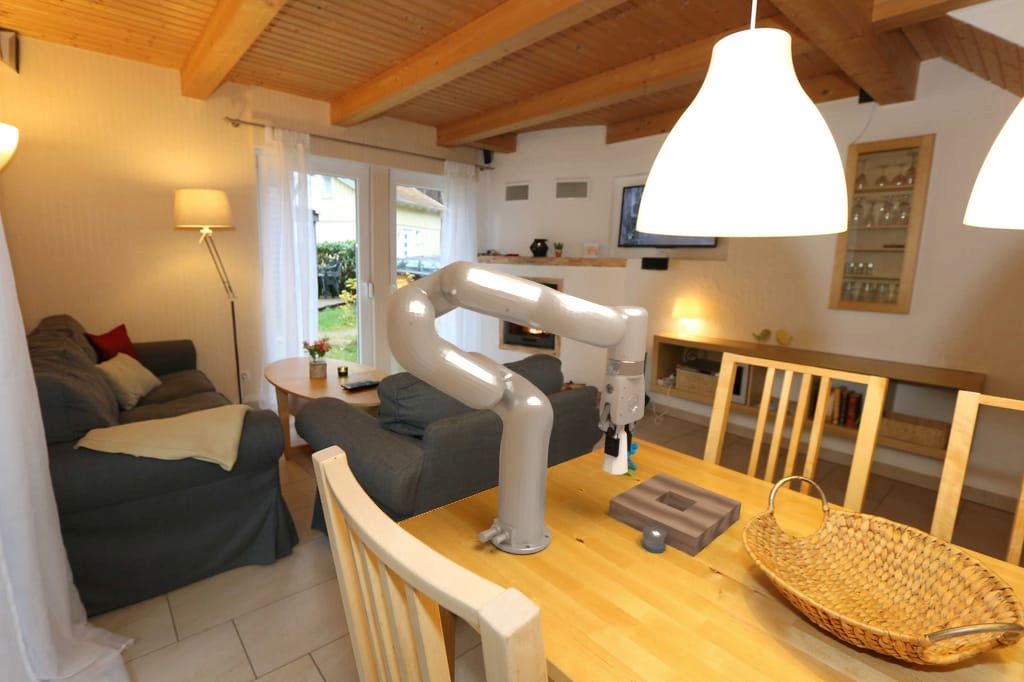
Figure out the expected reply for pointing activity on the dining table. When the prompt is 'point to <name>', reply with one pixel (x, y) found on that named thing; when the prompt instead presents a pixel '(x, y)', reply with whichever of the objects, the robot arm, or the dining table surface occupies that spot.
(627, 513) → the socket plate
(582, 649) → the dining table surface
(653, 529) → the short stub
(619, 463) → the salt shaker
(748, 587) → the dining table surface
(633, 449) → the blue bumpy figure
